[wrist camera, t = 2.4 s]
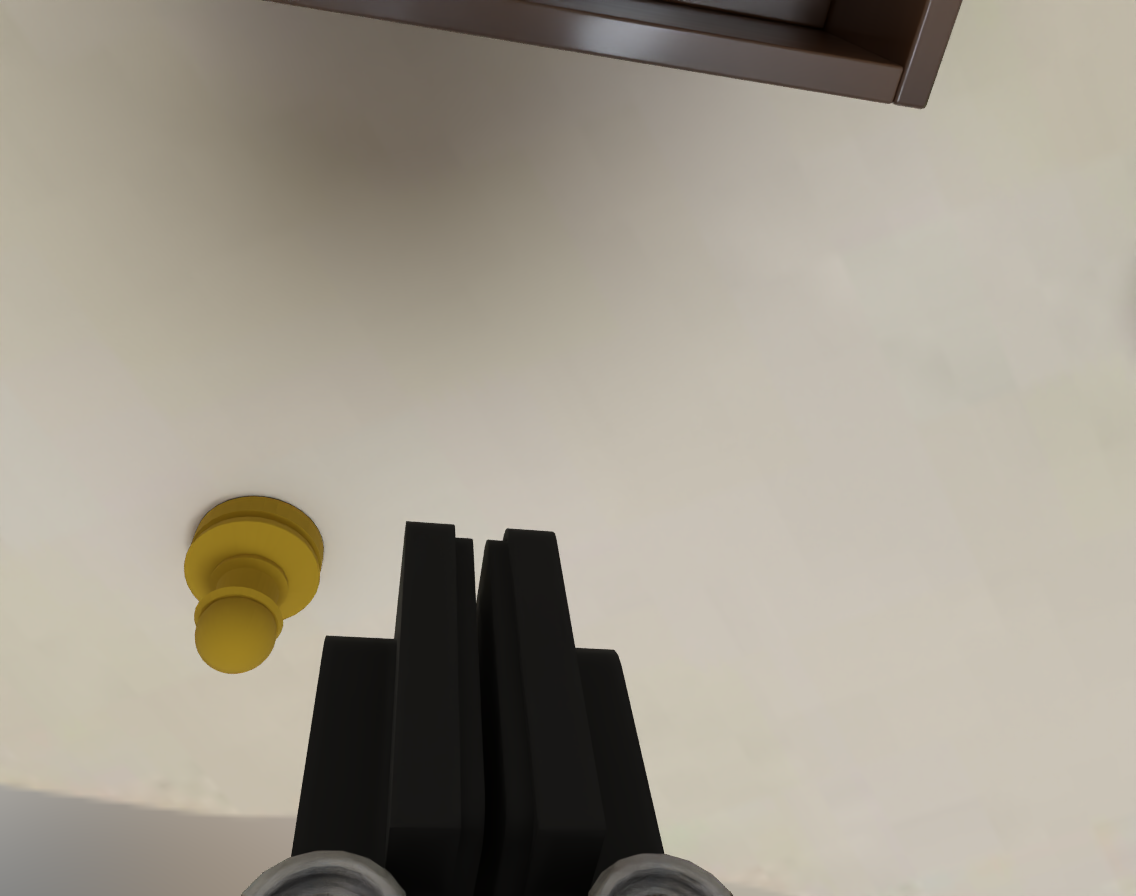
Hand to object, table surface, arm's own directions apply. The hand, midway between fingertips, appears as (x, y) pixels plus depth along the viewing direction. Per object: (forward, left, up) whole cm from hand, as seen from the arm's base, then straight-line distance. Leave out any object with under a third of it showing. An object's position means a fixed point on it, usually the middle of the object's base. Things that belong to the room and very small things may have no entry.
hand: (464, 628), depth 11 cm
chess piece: (+12, -5, -17) cm, 21 cm away
